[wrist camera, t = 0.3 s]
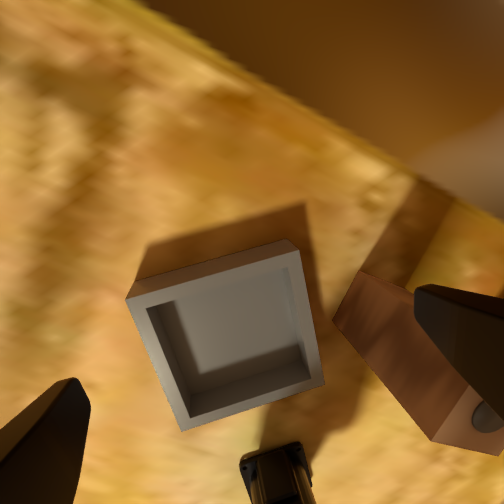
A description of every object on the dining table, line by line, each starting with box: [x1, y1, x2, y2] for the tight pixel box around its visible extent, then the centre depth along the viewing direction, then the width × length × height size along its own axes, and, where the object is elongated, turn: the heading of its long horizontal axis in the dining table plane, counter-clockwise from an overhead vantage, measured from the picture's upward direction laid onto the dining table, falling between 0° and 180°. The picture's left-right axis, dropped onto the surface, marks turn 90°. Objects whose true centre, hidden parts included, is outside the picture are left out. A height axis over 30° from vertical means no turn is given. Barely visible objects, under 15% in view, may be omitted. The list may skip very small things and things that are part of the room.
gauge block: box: [332, 271, 504, 456], centre depth 21 cm, size 5×5×12 cm
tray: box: [125, 239, 325, 432], centre depth 24 cm, size 12×12×3 cm
